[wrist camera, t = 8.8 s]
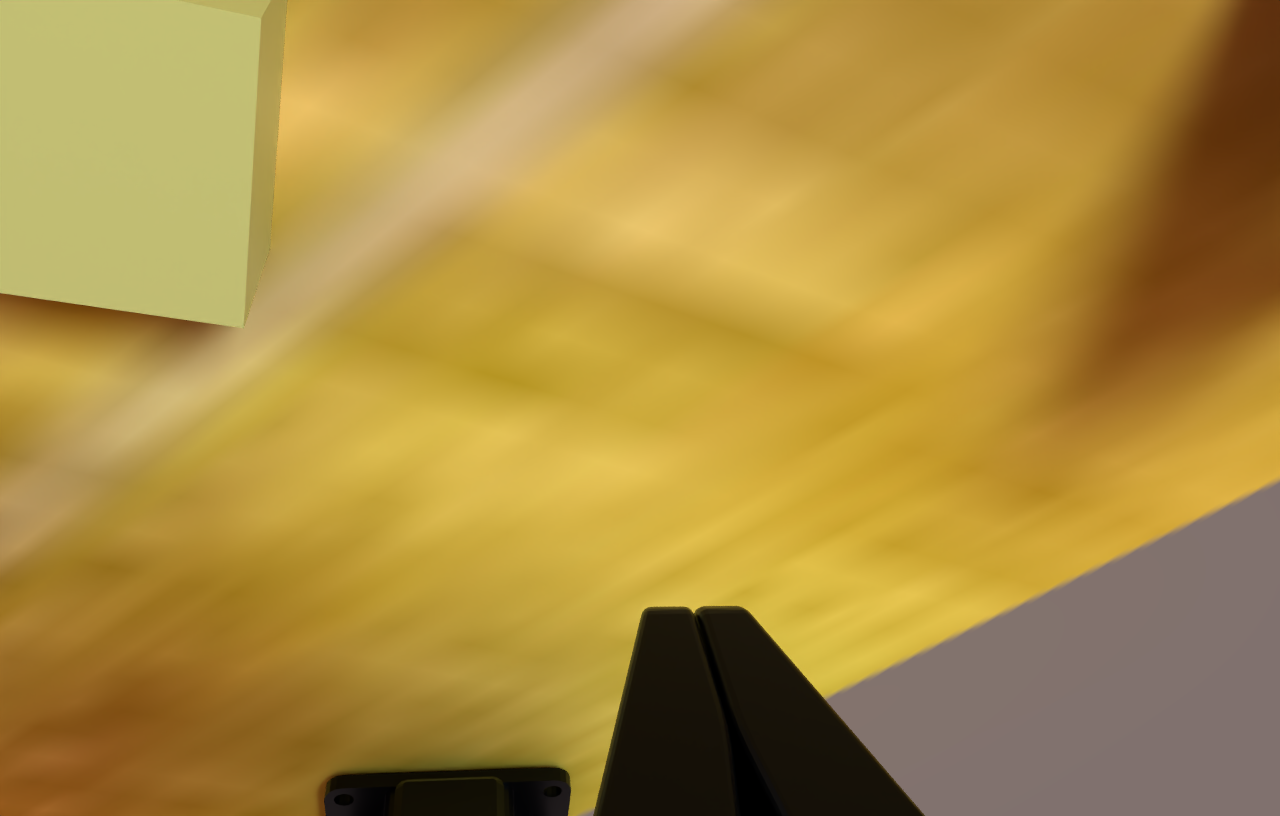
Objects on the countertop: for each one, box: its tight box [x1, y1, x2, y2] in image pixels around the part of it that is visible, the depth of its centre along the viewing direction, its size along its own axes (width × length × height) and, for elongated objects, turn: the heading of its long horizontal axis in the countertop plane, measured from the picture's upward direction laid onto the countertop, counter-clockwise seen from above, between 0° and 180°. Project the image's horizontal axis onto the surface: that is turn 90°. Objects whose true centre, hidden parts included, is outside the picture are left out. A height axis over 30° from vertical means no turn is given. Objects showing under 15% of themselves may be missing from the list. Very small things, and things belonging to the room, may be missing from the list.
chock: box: [0, 0, 287, 328], centre depth 16 cm, size 5×6×3 cm
